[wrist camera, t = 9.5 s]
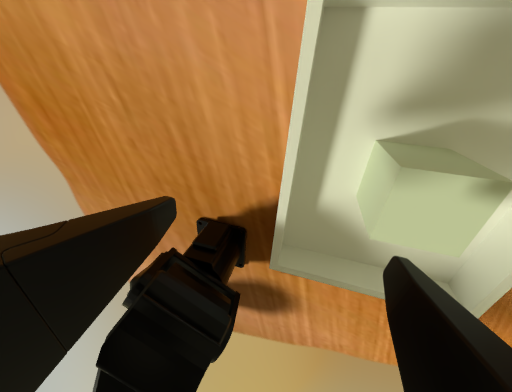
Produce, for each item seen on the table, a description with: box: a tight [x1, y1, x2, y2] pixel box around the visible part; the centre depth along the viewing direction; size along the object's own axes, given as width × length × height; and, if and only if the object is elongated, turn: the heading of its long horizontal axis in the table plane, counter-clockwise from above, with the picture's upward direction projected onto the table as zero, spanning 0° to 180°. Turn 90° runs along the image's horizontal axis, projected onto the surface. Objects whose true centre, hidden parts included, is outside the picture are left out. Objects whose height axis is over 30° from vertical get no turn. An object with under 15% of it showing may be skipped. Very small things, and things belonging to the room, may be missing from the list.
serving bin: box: [269, 0, 512, 319], centre depth 16 cm, size 22×18×4 cm
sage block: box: [356, 140, 512, 258], centre depth 14 cm, size 5×5×6 cm
